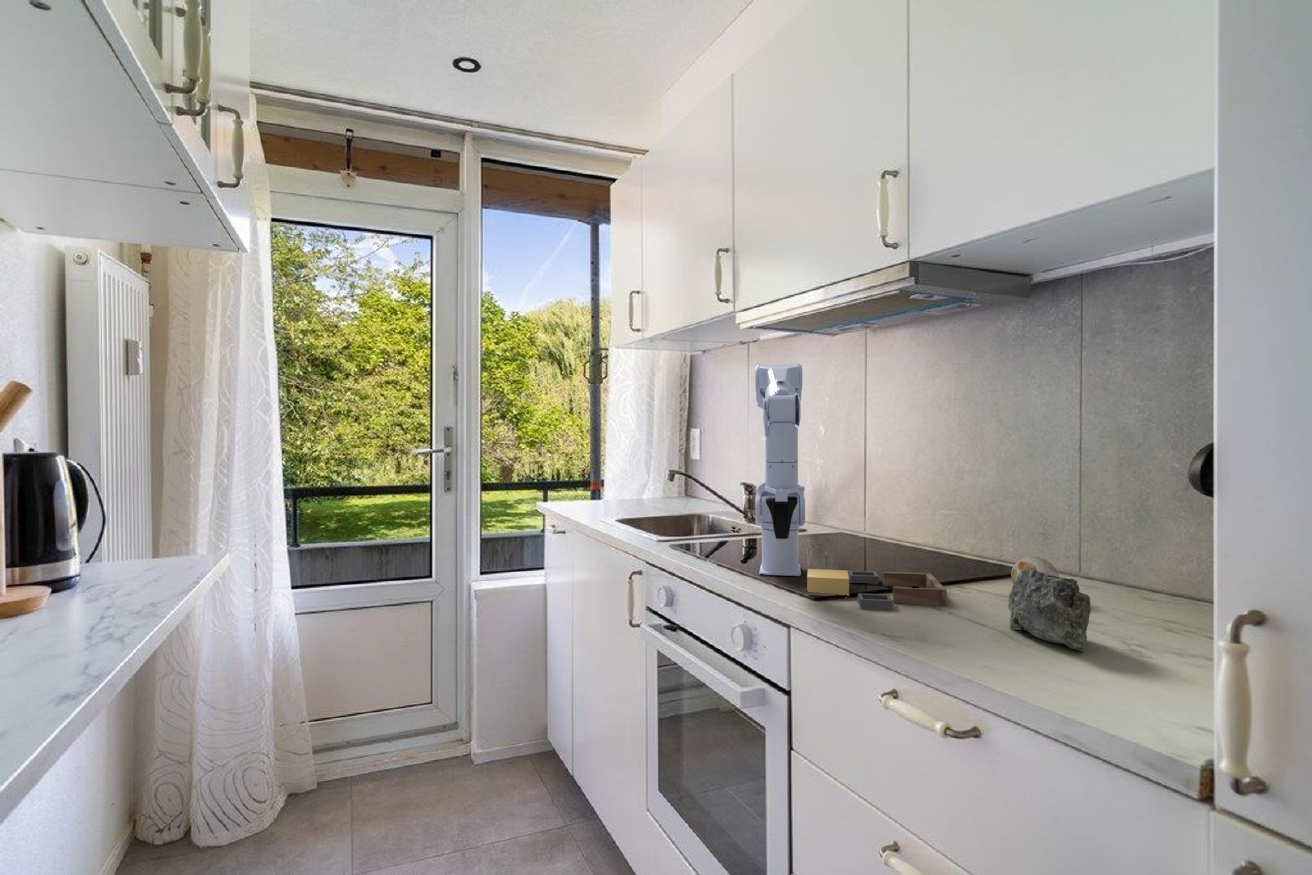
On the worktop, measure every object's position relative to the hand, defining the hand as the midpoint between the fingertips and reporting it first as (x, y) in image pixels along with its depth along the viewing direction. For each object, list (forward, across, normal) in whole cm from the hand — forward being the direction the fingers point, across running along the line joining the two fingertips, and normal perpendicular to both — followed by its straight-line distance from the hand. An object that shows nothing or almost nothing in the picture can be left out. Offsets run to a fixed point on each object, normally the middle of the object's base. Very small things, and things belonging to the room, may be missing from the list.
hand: (781, 537), depth 124 cm
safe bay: (+9, 0, -22) cm, 24 cm away
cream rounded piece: (+10, -2, -42) cm, 43 cm away
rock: (+10, -23, -36) cm, 43 cm away
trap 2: (+9, -9, -15) cm, 20 cm away
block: (+10, 0, -8) cm, 13 cm away
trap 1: (+9, +9, -15) cm, 20 cm away
